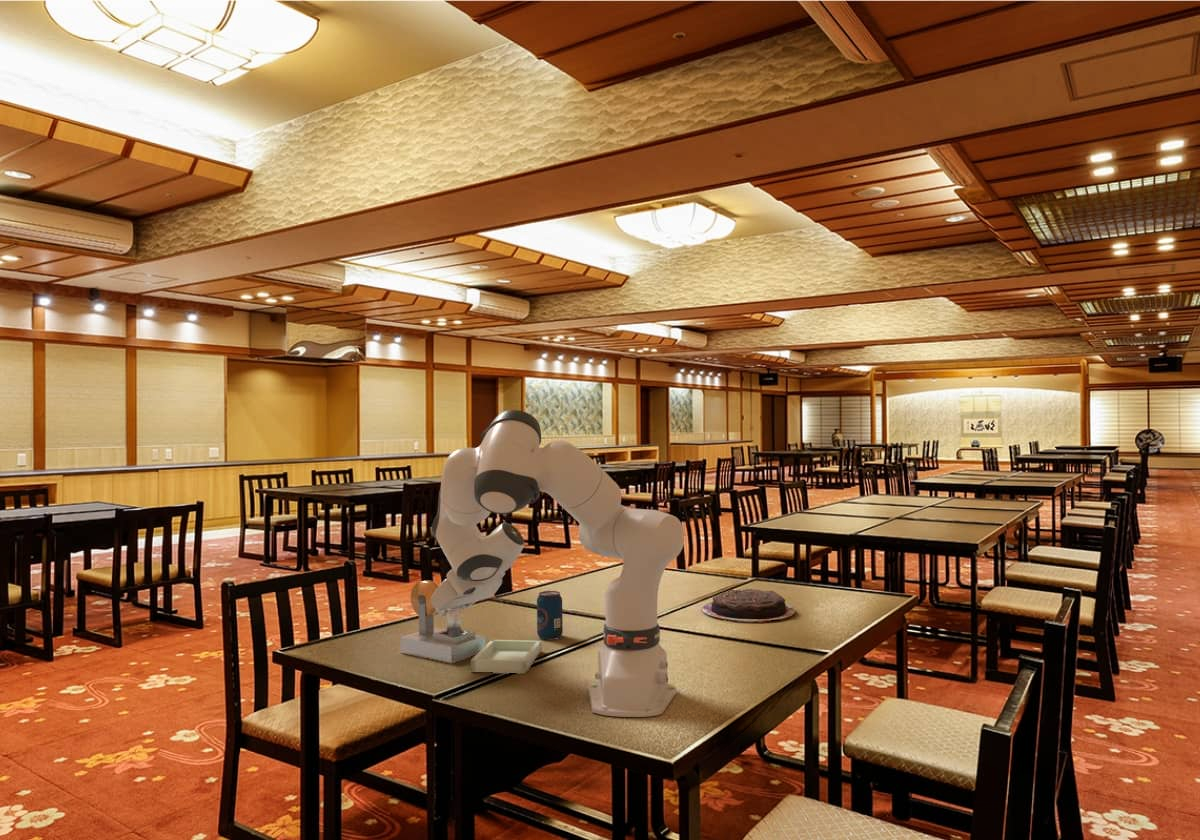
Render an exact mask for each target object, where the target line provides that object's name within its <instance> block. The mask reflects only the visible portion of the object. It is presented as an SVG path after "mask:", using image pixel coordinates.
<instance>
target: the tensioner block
mask: <svg viewBox="0 0 1200 840" xmlns="http://www.w3.org/2000/svg"><path fill="white" fill-rule="evenodd" d="M438 587H439V586H438V584H437V583H436V582H435V581H433V580H430V579H429V580H428V579H427V580H421V581H418V582H416V583H415V584H414V585H413V586H412V588H411V590H410V591H411V592H410V603H411V607H412V609H413V611H414V612H415V614H417V615H418V631H416V632H413V633H410V634H406V635H402V636H400V654H405V655H410V656H414V657H419V658H423V659H427V658H429V659H428V660H432V659H433V660H432V661H437V660H438V661H437V662H441V661H443V663H446V662H447V663H446V664H454V663H458V662H461V661H462V660H463V661H464V660H466V659H469V658H471V657H470V656H472V657H474V656H473V655H475V654H478V653H479V652H480V651H481V650H482V649H483V648H484V647H485V646H486V635H483V634H482V635H481V634H476V630H475V631H474V630H470V629H469V630H468V629H465V628H461V635H457V636H449V635H447V628H443V627H440V626H439V627H438V626H434V622H435V621H434V615H436V614H438V613H437V611H436V609H435V608H434V606H433V605H432V603H431V597H432V595H433V593H434V592H435V591H436V589H437V588H438ZM475 656H476V655H475ZM468 657H469V658H468ZM465 658H466V659H465ZM460 660H461V661H460ZM457 661H458V662H457Z"/></svg>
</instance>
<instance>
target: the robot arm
mask: <svg viewBox="0 0 1200 840" xmlns="http://www.w3.org/2000/svg"><path fill="white" fill-rule="evenodd" d="M541 430H542V429H541V425H540V423H539V421H538V419H537V418H536V417H534V416H533V415H531V414H530V413H528V412H525V411H523V410H517V409H510V410H505V411H503V412H500V413H499V414H497V416H496V417H495V418H494V419H493V420H492V421H491V423H490V425H489V426H488V427H487V428H486V429H485V430H484V431H483V432H482V433H481V434H480V435H481V439H482V441H481V444H480V445H478V446H477V447H461V448H459V449H456V450H454V451H453V452H451V453H450V454H449V455H448V457H447V458H446V459H445V462H444V466H443V468H442V472H441V473H442V474H441V479H440V489H439V492H438V501H437V502H438V505H437V512H436V515H435V517H434V518H433V522H432V523H431V527H430V528H431V529H430V531H431V534H432V536H433V537H434V539H435V540H436V542H437V543H438V545H439V546H440V548H441V550H442V552H443V554H444V555H445V557H446V560H447V561H448V563H449V565H450V566H451V568H452V569H450V570H449V571H448V572H447V573H446V575H445V576H446V578H445V579H444V580H443V581H442V582H441V583H440V584H438V585H439V586H438V588H437V589H436V591H435V592H434V593H433V595H432V597H431V603H432V605H433V606H434V608H435V609H436V611H437V613H436V614H437V615H438V617H444V616H447V612H448V611H447V609H449V608H453V607H456V606H460V605H461V611H466V610H468V609H469V608H470V607H471V606H472V605H473V604H475V603H476V602H478V601H482V600H485V599H489V598H491V597H492V596H494V595H495V594H496V592H498V590H499V588H500V587H501V586H502V584H503V577H504V576H505V575H506V571H508V570H509V569H510V568H511V567H512V566H513V564H514V563H516V560H517V559H518V558H519V556H520V554H521V553H522V551H523V549H524V547H525V539H524V537H523V535H522V534H521V532H520V531H519V529H518V528H516V527H515V526H514V525H513V524H511V523H508V522H502V523H500V524H499V525H498V526H497V527H496V528H494V530H493V531H492V532H491V533H490V534H488V535H486V536H484V535H482V533H481V531H480V529H479V527H478V526H477V525H478V524H479V523H481V522H483V521H484V520H486V519H487V518H488V517H489V516H490V514H491V513H492V514H497V515H509V514H510V515H511V514H512V513H515V512H517V511H520V510H523V509H524V508H525V507H527V505H531V504H534V503H535V502H537V500H538V499H539V497H540V494H541V493H540V492H542V493H545V494H547V495H548V496H550V497H551V498H552V499H553V500H554V501H555V502H556V503H557V504H559V506H561V508H562V509H564V510H565V511H566V512H567V513H568V514H569V515H570V516H571V517H572V518H573V519H574V520H575V521H577V522H578V524H579V525H578V538H579V542H580V544H581V546H582V547H583V548H584V549H585V550H586V551H589V552H590V553H593V554H595V555H597V556H601V557H604V558H610V559H616V560H617V559H618V560H622V561H623V562H622V563H623V564H622V570H621V573H620V575H619V577H617V578H615V579H613V580H612V581H611V582H610V583H609V584H608V585H607V587H606V589H605V592H604V594H605V596H604V597H605V599H604V600H605V606H604V607H605V623H604V624H603V630H602V632H603V633H602V635H603V645H602V647H600V648H599V649H598V651H597V663H598V664H597V665H598V666H597V667H598V668H597V669H598V671H596V672H595V680H598V681H597V682H592V683H590V684H588V696H589V700H590V702H589V703H590V707H591V711H592V713H594V714H598V715H601V716H609V717H617V718H619V717H623V718H646V717H647V718H648V717H654V716H655V717H656V716H659V715H662V714H664V712H665V710H666V708H667V707H668V706H669V704H670V703H671V702H672V700H673V698H674V697H675V696H676V694H677V693H678V688H677V686H676V685H674V684H670V683H669V676H668V674H669V673H668V667H669V665H668V653H667V651H666V650H665V649H664V648H663V647H662V646H661V644H660V641H661V640H660V639H661V637H660V636H661V629H660V624H659V623H658V596H659V595H658V593H659V587H660V583H661V578H662V576H663V574H664V572H665V570H666V568H667V567H668V566H669V565H670V564H671V563H672V561H674V560H675V559H676V558H677V557H678V556H679V555H680V554H681V551H682V550H683V547H684V545H685V530H684V527H683V524H682V522H681V521H680V519H679V518H678V517H677V516H675V515H672V514H669V513H667V512H664V511H661V510H657V509H648V508H647V509H645V508H633V507H628V506H625V505H622V504H621V503H622V490H621V487H620V486H619V484H617V482H616V481H614V480H613V478H612V477H611V476H610V475H609V474H608V473H607V472H606V471H605V470H604V469H603V468H602V467H600V465H599V464H598V463H597V462H596V461H595V460H593V459H592V458H591V457H590V456H589V455H588V454H587V453H585V452H584V451H582V450H581V449H579V448H578V447H577V446H576V445H573V444H572V443H570V442H568V441H565V440H555V441H552V442H549V443H547V444H545V445H544V446H543V447H540V445H541V442H542V431H541Z"/></svg>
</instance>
